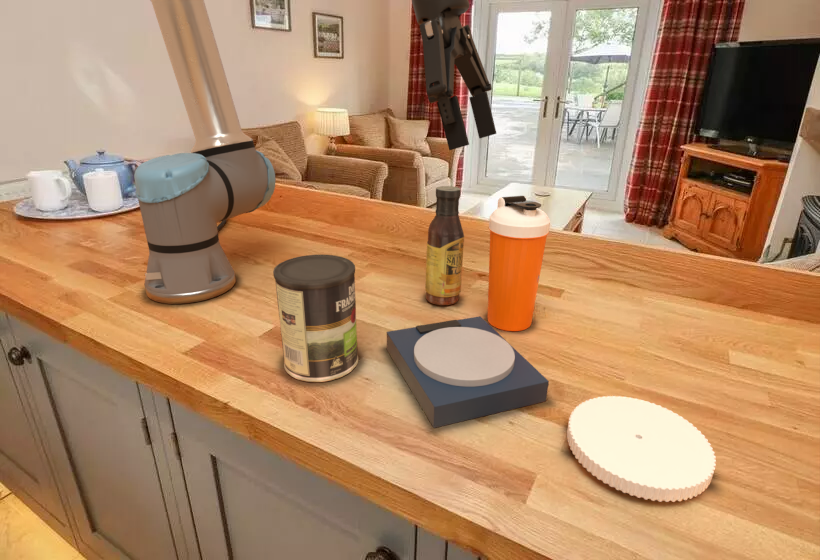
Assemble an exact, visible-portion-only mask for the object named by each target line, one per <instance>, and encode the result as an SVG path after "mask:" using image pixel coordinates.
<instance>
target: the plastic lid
mask: <svg viewBox="0 0 820 560" xmlns="http://www.w3.org/2000/svg"><path fill="white" fill-rule="evenodd" d="M570 413H571V414H570V415H569V418H568V425H567V429H566V439H567V442H568V446H569V449H570V451H572V452H571V453H572V455H574V458H575V459H576V460H578V461H577V462H578V463H579V464H581V466H582V468H585V469H586V471H587V472H588V473H591V475H592V476H593V477H596V479H597V480H599V481H602V483H603V484H607V485H608V486H609V487H611V488H615V490H616V491H621V492H622V493H623V494H629V496H631V497H632V496H633V497H634V496H635V497H636V498H637V499H638V498H639V499H641V498H643V500H647V501H648V499H649V500H651V501H652V502H655V501H658V502H661V503H662V502H663V501H664V502H665V503H670V501H671V502H673V503H675V502H676V501H678V502H682V501H683V500H684V501H687V500H688V499H690V500H692V499H693V498H694V497H696V498H697V497H698V495H701V494H702V493H703V492H705V491H706V489H708V487H709V486H710V484H711V482H712V479H713V476H714V474H715V470H716V466H717V464H716V463H717V460H716V455H715V454H716V453H715V451H714V447H712V444H711V443H710V442H709V440H708V438H706V435H704V434H703V433H702V431H701V430H698V427H696V426H694V424H693V423H692V422H689V420H688V419H685V418H684V416H681V415H679V414H678V413H677V412H673V410H671V409H668V408H667V407H663V406H662V405H660V404H656V403H655V402H650V401H649V400H647V401H646V400H644V399H639V398H638V397H637V398H636V397H634V398H633V397H632V396H629V397H627V396H625V395H623V396H621V395H617V396H616V395H612V396H611V395H607V396H605V395H602V396H597V397H593V398H588V399H586V400H585V401H581V403H579V404H578V405H576V406H575V408H574V409H572V411H571V412H570Z"/></svg>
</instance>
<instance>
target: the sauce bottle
mask: <svg viewBox="0 0 820 560" xmlns="http://www.w3.org/2000/svg"><path fill="white" fill-rule="evenodd" d="M435 198H436V204H435V205H436V206H435V216H434V218H433V219H432V220H431V222H430V223H429V225H428V230H427V241H426V256H425V257H426V259H425V260H426V261H425V282H424V283H425V285H424V290H425V298H426V301H427V302H429V303H430V304H433V305H436V306H451V305H454V304H456V303H458V301H459V300H460V294H461V291H462V276H463V274H462V273H463V263H464V262H463V261H464V245H465V234H464V230H463V225H462V222H461V218H460V216H459V213H460V212H459V205H460V198H461V188H459V187H458V186H454V185H453V186H452V185H451V186H450V185H442V186H437V187H435Z"/></svg>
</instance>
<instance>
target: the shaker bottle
mask: <svg viewBox="0 0 820 560" xmlns="http://www.w3.org/2000/svg"><path fill="white" fill-rule="evenodd" d="M541 207H542V204H541V203H540V202H537V201H533V200H528V198H527V197H526V196H525V195H511V196H501V197H498V200H497V208H496V209H494V210H493V212H492V213H491V214H490V215H489V220H488V221H489V222H488V230H489V258H488V288H487V289H488V291H487V323H488V324H489V325H490V326H491V327H494V328H495V329H498V330H501V331H507V332H520V331H524V330H527V329H529V328H530V327H531V326H532V322H533V317H534V310H535V305H536V299H537V294H538V288H539V282H540V276H541V272H542V271H541V270H542V265H543V259H544V254H545V248H546V242H547V237H548V235H549V234H550V226H551V219H550V218H549V216H548V214H547V213H546V212H545V211H544V210H542V209H540V208H541Z"/></svg>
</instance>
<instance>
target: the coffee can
mask: <svg viewBox="0 0 820 560" xmlns="http://www.w3.org/2000/svg"><path fill="white" fill-rule="evenodd" d="M272 272H273V279H274V281H275V290H276V291H275V292H276V299H277V308H278V318H279V326H280V335H281V345H282V355H283V366H284V367H283V368H284V371H285V372H286V373H287V374H288V375H289V376H290V377H292V378H294V379H296V380H298V381H302V382H306V383H325V382H330V381H334V380H338V379H341V378H342V377H345V376H347V375H348V374H350V373H351V372H353V370H354V369H355V368H356V367H357V365H358V363H359V353H358V337H357V335H358V333H357V330H358V329H357V305H356V303H357V300H356V276H355V275H356V265H355V263H354V262H353V261H352V260H351V259H349V258H346V257H342V256H339V255H333V254H308V255H300V256H296V257H292V258H289V259H286V260H284V261H282V262H280V263H278V264H276V265H275V267H274V268H273V271H272Z"/></svg>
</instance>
